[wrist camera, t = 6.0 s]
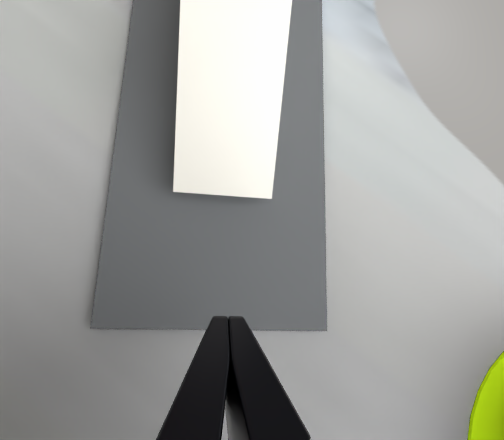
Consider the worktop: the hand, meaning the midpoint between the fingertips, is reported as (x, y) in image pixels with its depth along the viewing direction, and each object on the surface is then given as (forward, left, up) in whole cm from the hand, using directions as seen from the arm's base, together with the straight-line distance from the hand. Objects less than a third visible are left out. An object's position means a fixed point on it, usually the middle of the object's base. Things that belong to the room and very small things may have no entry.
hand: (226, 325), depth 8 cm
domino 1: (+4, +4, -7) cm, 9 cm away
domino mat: (+8, +10, -8) cm, 15 cm away
